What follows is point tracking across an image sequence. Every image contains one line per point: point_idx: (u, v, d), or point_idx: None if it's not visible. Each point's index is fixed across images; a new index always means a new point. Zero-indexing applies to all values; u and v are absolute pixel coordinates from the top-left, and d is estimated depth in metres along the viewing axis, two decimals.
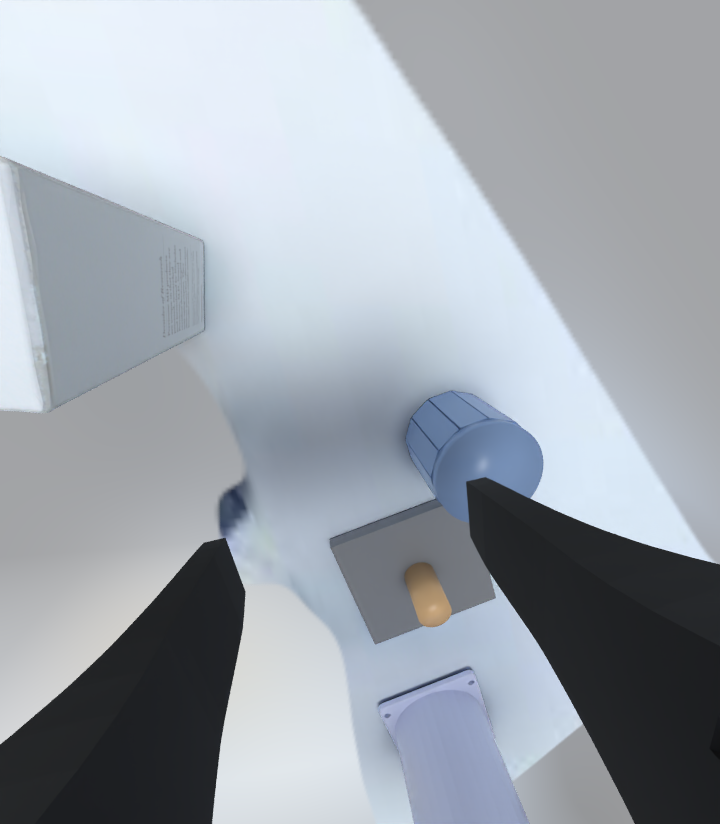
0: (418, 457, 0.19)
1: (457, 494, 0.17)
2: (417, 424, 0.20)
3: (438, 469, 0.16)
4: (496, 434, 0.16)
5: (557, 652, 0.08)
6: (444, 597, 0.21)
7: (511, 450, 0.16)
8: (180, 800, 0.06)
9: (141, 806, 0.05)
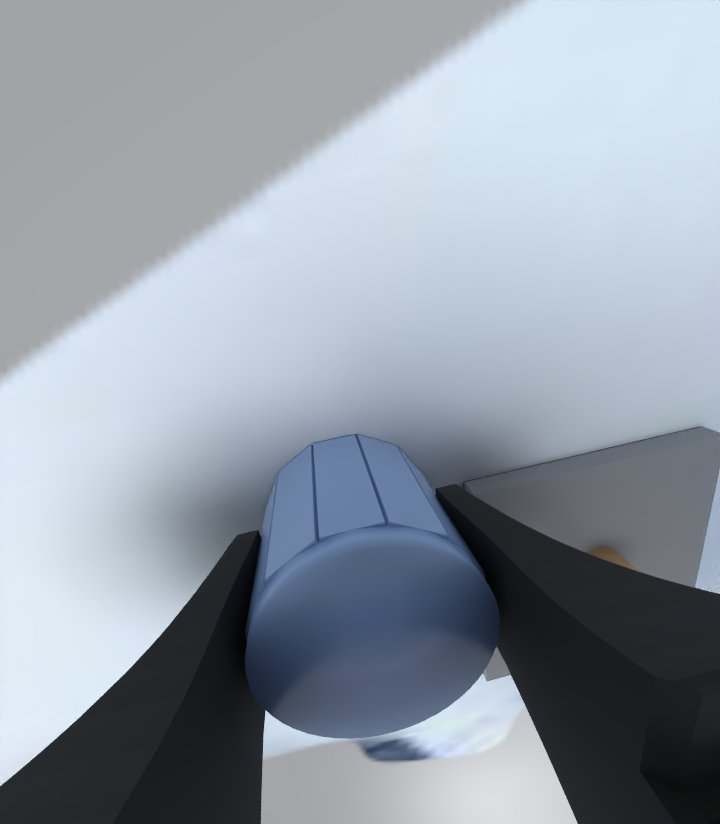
0: None
1: (403, 702, 0.08)
2: None
3: (336, 734, 0.08)
4: (272, 655, 0.07)
5: (516, 664, 0.08)
6: None
7: (320, 621, 0.07)
8: (236, 784, 0.06)
9: (207, 787, 0.05)
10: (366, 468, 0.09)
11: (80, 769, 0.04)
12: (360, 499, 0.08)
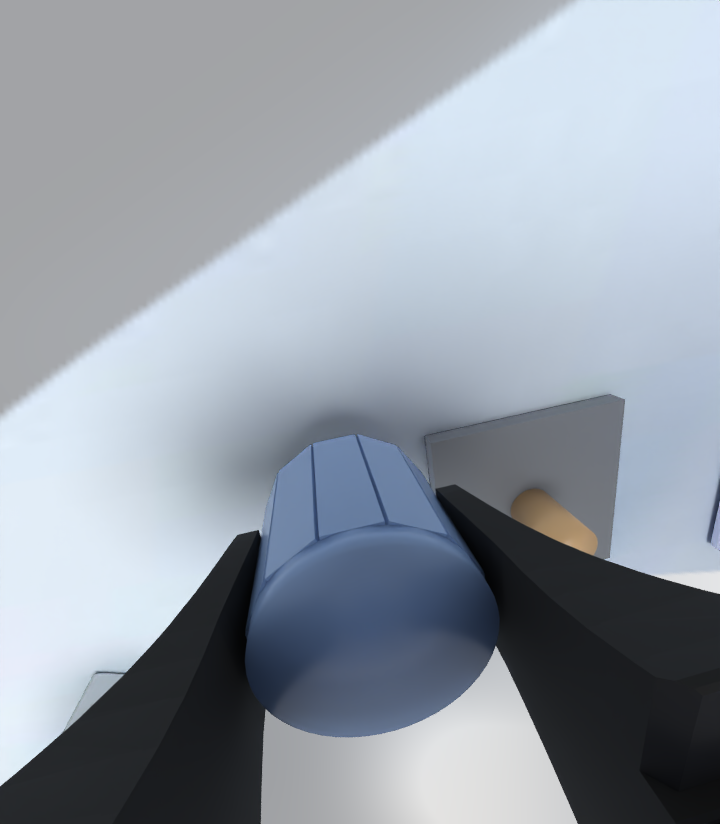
0: None
1: (403, 701, 0.08)
2: None
3: (336, 733, 0.08)
4: (272, 654, 0.07)
5: (516, 664, 0.08)
6: (557, 530, 0.14)
7: (320, 620, 0.07)
8: (236, 784, 0.06)
9: (207, 787, 0.05)
10: (366, 468, 0.09)
11: (80, 769, 0.04)
12: (360, 498, 0.08)
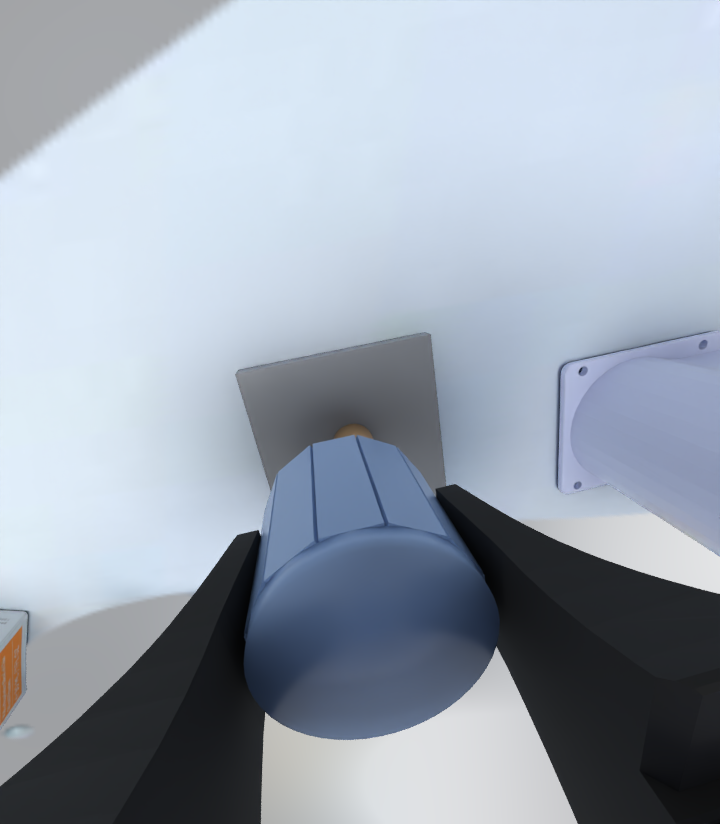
0: None
1: (403, 703, 0.08)
2: None
3: (335, 735, 0.08)
4: (271, 657, 0.07)
5: (516, 664, 0.08)
6: None
7: (319, 622, 0.07)
8: (236, 784, 0.06)
9: (207, 787, 0.05)
10: (365, 469, 0.09)
11: (80, 769, 0.04)
12: (359, 500, 0.08)
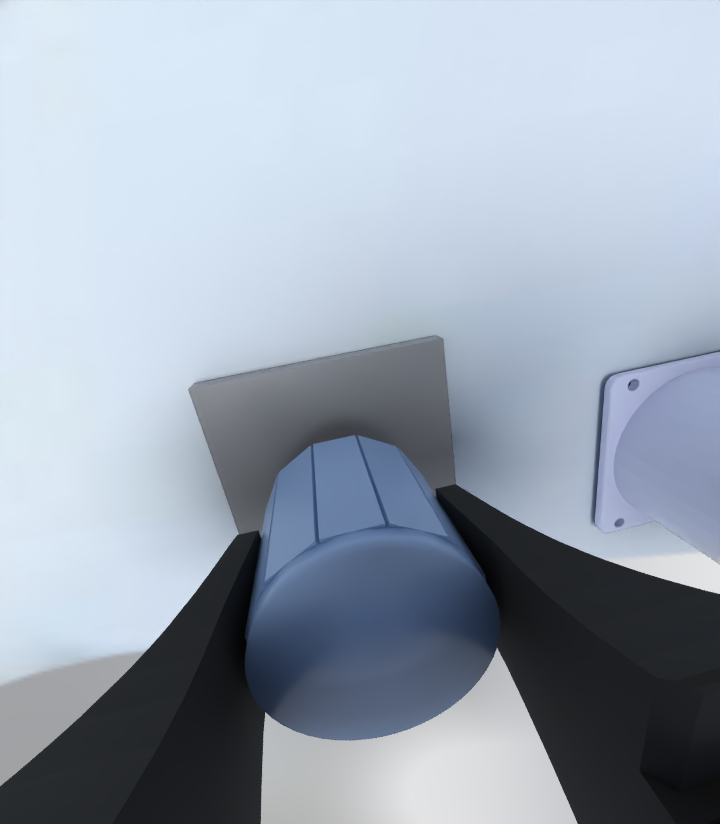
0: None
1: (404, 704, 0.08)
2: None
3: (336, 736, 0.08)
4: (272, 657, 0.07)
5: (516, 664, 0.08)
6: None
7: (319, 623, 0.07)
8: (236, 784, 0.06)
9: (206, 787, 0.05)
10: (366, 469, 0.09)
11: (79, 770, 0.04)
12: (360, 500, 0.08)
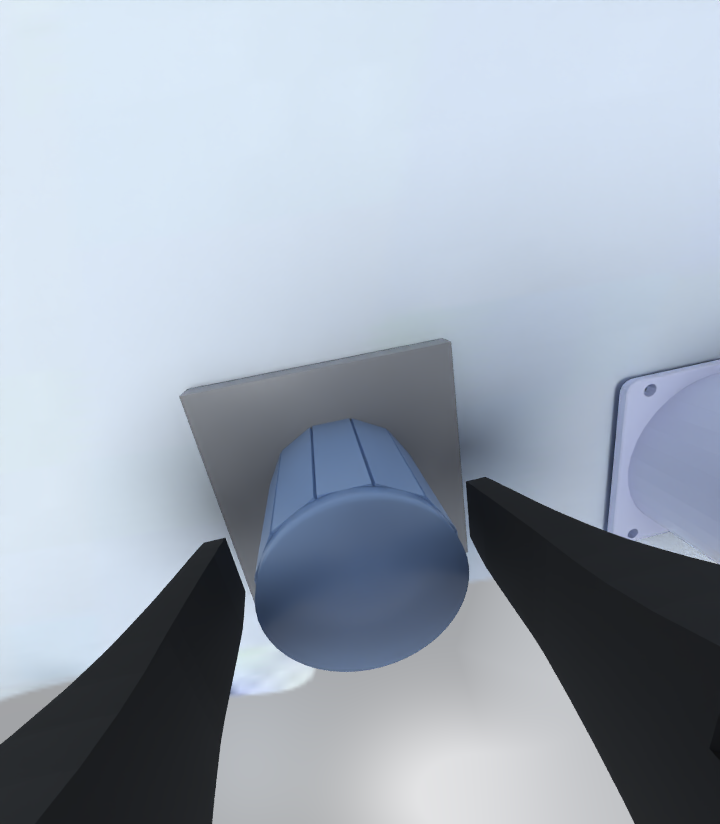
0: None
1: (388, 640, 0.09)
2: None
3: (330, 668, 0.09)
4: (277, 593, 0.08)
5: (557, 652, 0.08)
6: None
7: (317, 564, 0.08)
8: (180, 800, 0.06)
9: (141, 806, 0.05)
10: (358, 444, 0.10)
11: None
12: (352, 467, 0.09)
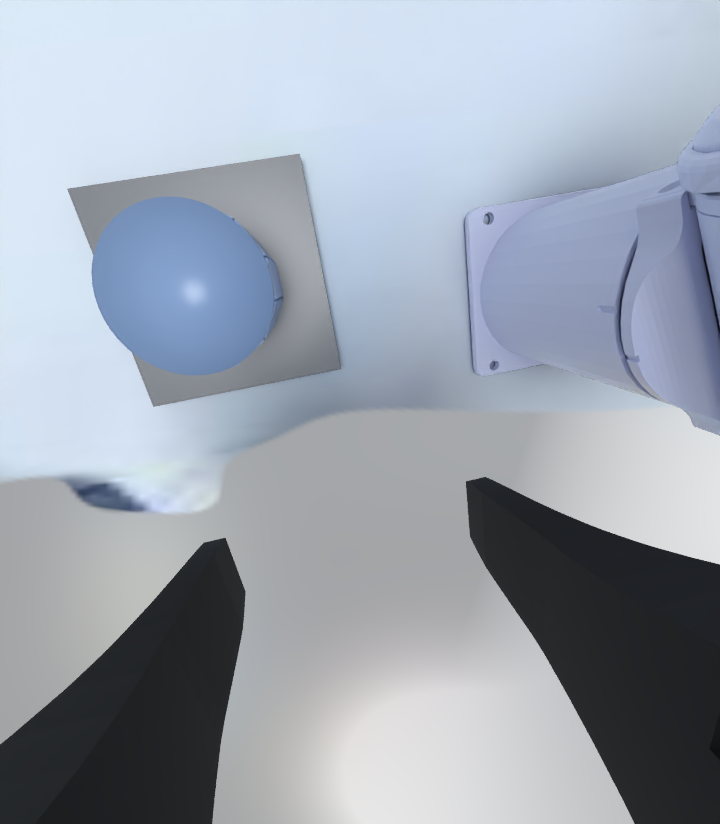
0: None
1: (213, 346, 0.12)
2: None
3: (169, 370, 0.12)
4: (110, 281, 0.11)
5: (557, 652, 0.08)
6: None
7: (139, 255, 0.11)
8: (180, 800, 0.06)
9: (141, 806, 0.05)
10: None
11: None
12: None
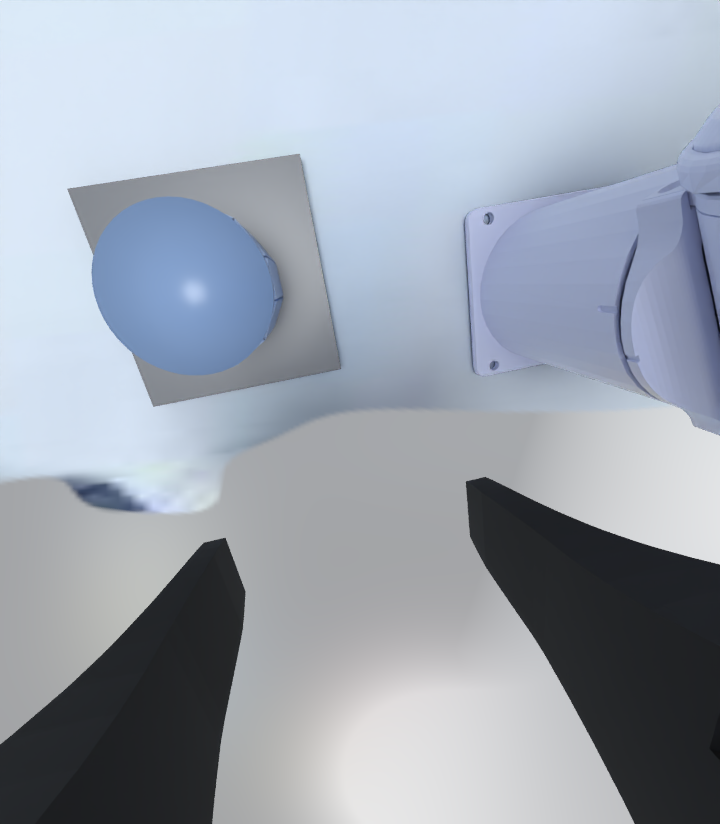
0: None
1: (213, 346, 0.12)
2: None
3: (169, 370, 0.12)
4: (110, 281, 0.11)
5: (557, 652, 0.08)
6: None
7: (139, 255, 0.11)
8: (180, 800, 0.06)
9: (141, 806, 0.05)
10: None
11: None
12: None
